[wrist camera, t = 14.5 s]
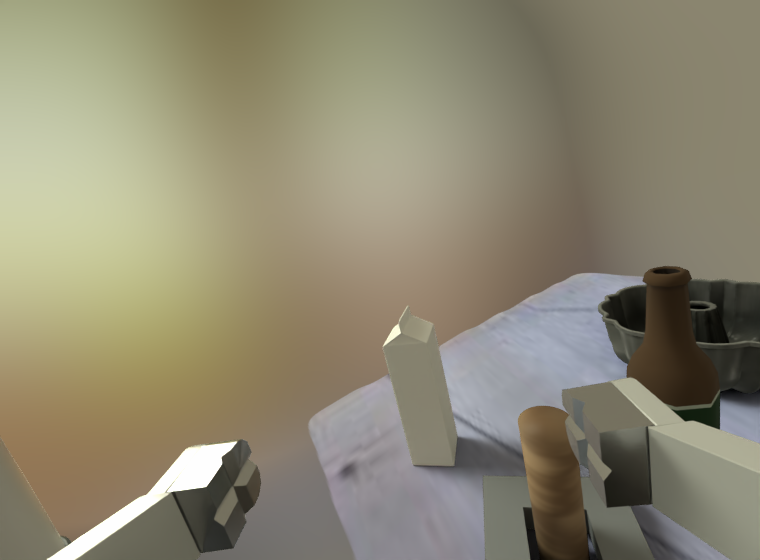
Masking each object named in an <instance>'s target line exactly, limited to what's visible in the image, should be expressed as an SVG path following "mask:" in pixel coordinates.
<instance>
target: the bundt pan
mask: <svg viewBox="0 0 760 560" xmlns="http://www.w3.org/2000/svg"><path fill="white" fill-rule="evenodd" d="M688 291H689V301H690V310H691V319H692V328H693V333H694V337H695V340H696V344H697V345H698V346H699V347H700V348H701V349H702V351H703V352H704V353H705V354H706V355H707V356H708V357H709V358H710V359H711V361H712V363H713V364H714V366H715V368H716V370H717V372H718V377H719V385H720V391H724V390H728V389H730V388H733V389H735V390H737V391H740V392H743V393H754V392H756V391H758V390H759V389H760V283H757V282H737V281H733V280H728V279H719V280H705V279H691V280H690V281H689V282H688ZM646 293H647V284H645V285H637V286H631V287H627V288H623V289H621V290H619V291H617V292H616V294H611V295H607V296H605V301H603V302H601V303H600V304H599V305H598V311H599V313H600V314H602V315H603V317H602V319H603V321H604V322H605V325H606V328H607V331H608V335H609V339H610V341H611V343H612V346H613V349H614V352H615V353H616V355H617V356H618V357H619V359H621V360H622V361H623V362H625V363H627V364H628V363H629V361H630V359H631V357H632V355H633V354H634V352H635V351H636V350H637V349H638V348H639V347H640V346H641V344H642V343H643V340H644V335H645V328H646Z"/></svg>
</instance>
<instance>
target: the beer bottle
mask: <svg viewBox="0 0 760 560" xmlns="http://www.w3.org/2000/svg"><path fill="white" fill-rule="evenodd" d="M691 279H692V278H691V275H690V273H689V271H688V270H686V269H683V268H680V267H670V266H663V267H657V268H653V269H650V270H648V271H647V272H646V273H645V275H644V278H643V282H645V283H646V284H647V293H646V328H645V335H644V340H643V343H642V344H641V346H640V347H639V348H638V349H637V350H636V351H635V352H634V354H633V355H632V357H631V359H630V361H629V363H628V366H627V378H630V377H631V378H634V379H636V380H637V381H638V382H639V383H641V384H642V385H643V386H644V387H645V388H647V389H648V390H649V391H650V392H651V393H652V394H654V395H655V396H656V397H657V398H658V399H659V400H661V401H662V402H663V403H664V404H665V405H666V406H668V407H669V408H670V409H671V410H672V411H674V412H675V413H676V414H677V415H678V416H679V417H681V418H682V419H683V420H684V421H685V422H687V421H696V422H699V423H702V424H705V425H707V426H710V427H713V428H716V429H719V430H720V385H719V377H718V372H717V370H716V368H715V366H714V364H713V363H712V361H711V359H710V358H709V357H708V356H707V355H706V354H705V353H704V352H703V351H702V349H701V348H700V347H699V346H698V345H697V344H696V340H695V337H694V333H693V328H692V319H691V310H690V301H689V291H688V282H689V281H690V280H691Z"/></svg>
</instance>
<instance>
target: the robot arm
mask: <svg viewBox="0 0 760 560" xmlns="http://www.w3.org/2000/svg"><path fill="white" fill-rule="evenodd" d="M562 402H563V406H564V408H565V409H566V411H567V412H568V414H569V416H568V417H567V419H566V420H565V425H566V431H567V436H568V439H569V442H570V446H571V448H572V450H573V452H574V455H575V456H576V458H577V460H578V462H579V463H580V465H582V466H584V467H585V468H587V469H589V476H590V481H591V483H592V485H593V486H594V488H595V490H596V491H597V493H598V494H599V496H600V498H601V499H602V501H603V502H604V504H605V506H606V507H607V508H611V507H623V506H636V505H648V504H653V507H654V508H656V509H657V510H659V511H660V512H662V513H663V514H665V515H666V516H668V517H669V518H670V519H672V520H673V521H675V522H676V523H678V524H679V525H681V526H682V527H684V528H685V529H687V530H688V531H689V532H691V533H692V534H694V535H695V536H697V537H698V538H700V539H701V540H703V541H704V542H706V543H707V544H708V545H710V546H711V547H713V548H714V549H716V550H717V551H719V552H720V553H722V554H723V555H725V556H726V557H727V558H729V559H730V560H760V444H759V443H756V442H753V441H750V440H748V439H745V438H742V437H739V436H736V435H733V434H730V433H728V432H725V431H722V430H719V429H716V428H713V427H710V426H707V425H705V424H702V423H699V422H696V421H687V422H685V421H684V420H683V419H682V418H681V417H679V416H678V415H677V414H676V413H675V412H674V411H672V410H671V409H670V408H669V407H668V406H666V405H665V404H664V403H663V402H662V401H661V400H659V399H658V398H657V397H656V396H655V395H654V394H652V393H651V392H650V391H649V390H648V389H647V388H645V387H644V386H643V385H642V384H641V383H639V382H638V381H637V380H636V379H634V378H631V377H630V378H624V379H619V380H614V381H608V382H606V383H600V384H594V385H588V386H582V387H576V388H570V389H564V390H562ZM250 454H251V450H250V447H249V445H248V443H247V441H245V440H242V439H239V440H231V441H224V442H217V443H210V444H202V445H196V446H192V447H189V448H187V449H186V450H185V451H184V452H183V453H182V454H181V456H180V457H179V458H178V459H177V460H176V461H175V463H174V464H173V465H172V466H171V467H170V469H169V470H168V471H167V472H166V473H165V475H164V476H163V477H162V478H161V479H160V480H159V481H158V483H157V484H156V485H155V486H154V487H153V488H152V490H151V491H150V492H149V493H148V494H147V496H141V497H139V498H138V499H136V500H135V501H133V502H132V503H130V504H129V505H127V506H126V507H124V508H123V509H121V510H120V511H118V512H117V513H115V514H114V515H112V516H111V517H109V518H108V519H107V520H105V521H104V522H102V523H101V524H99V525H98V526H96V527H95V528H93V529H92V530H90V531H89V532H87V533H86V534H84V535H83V536H82V537H80V538H78V539H77V540H75V541H74V542H72V543H71V541H70V540H69V539H68V538H67V537H64V536H60V535H59V534H58V532H57V530H56V529H55V527H54V525H53V524H52V522H51V520H50V518H49V517H48V515H47V513H46V512H45V510H44V508H43V507H42V505H41V503H40V502H39V500H38V498H37V496H36V495H35V493H34V491H33V490H32V488H31V486H30V484H29V483H28V481H27V479H26V478H25V476H24V474H23V473H22V471H21V470H20V468H19V467H18V465H17V463H16V462H15V460H14V459H13V457H12V455H11V454H10V452H9V451H8V449H7V447H6V446H5V444H4V442H3V441H2V439H1V437H0V560H196V559H198V558H199V557H200V555H201V554H200V553H205V552H212V551H218V550H226V549H233V548H234V546H235V544H236V542H237V540H238V538H239V536H240V534H241V532H242V530H243V528H244V526H245V524H246V518H245V514H246V513H247V512H248V511H249V510H250V509H251V508H252V507H253V506H254V505H255V503H256V501H257V499H258V496H259V492H260V486H261V479H260V473H259V470H258V467H257V465H255V464H254V463H253V462H251V461H250V460H249V457H250Z"/></svg>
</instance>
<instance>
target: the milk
mask: <svg viewBox="0 0 760 560" xmlns="http://www.w3.org/2000/svg"><path fill="white" fill-rule="evenodd" d="M383 351H384V355H385V359H386V363H387V367H388V370H389V374H390V378H391V382H392V386H393V390H394V394H395V398H396V402H397V405H398V409H399V413H400V417H401V421H402V425H403V429H404V433H405V437H406V440H407V444H408V448H409V452H410V456H411V460H412V464H413V465H425V466H454V465H455V455H456V446H457V437H458V436H457V431H456V426H455V421H454V417H453V412H452V407H451V403H450V398H449V393H448V389H447V384H446V379H445V375H444V370H443V365H442V361H441V356H440V351H439V347H438V342H437V337H436V333H435V328H434V324H433V323H431V322H428V321H426V320H423V319H421V318H418V317H416V316H413V315H411V313H410V309H409V306H407V307H406V309H405V311H404V313H403V315H402V316H401V318H400V320H399V324H398V325H396V326H395V327H394V328H393V330H392V331H391V333H390V335H389V337H388V338H387V340H386V342H385V344H384V345H383Z"/></svg>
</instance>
